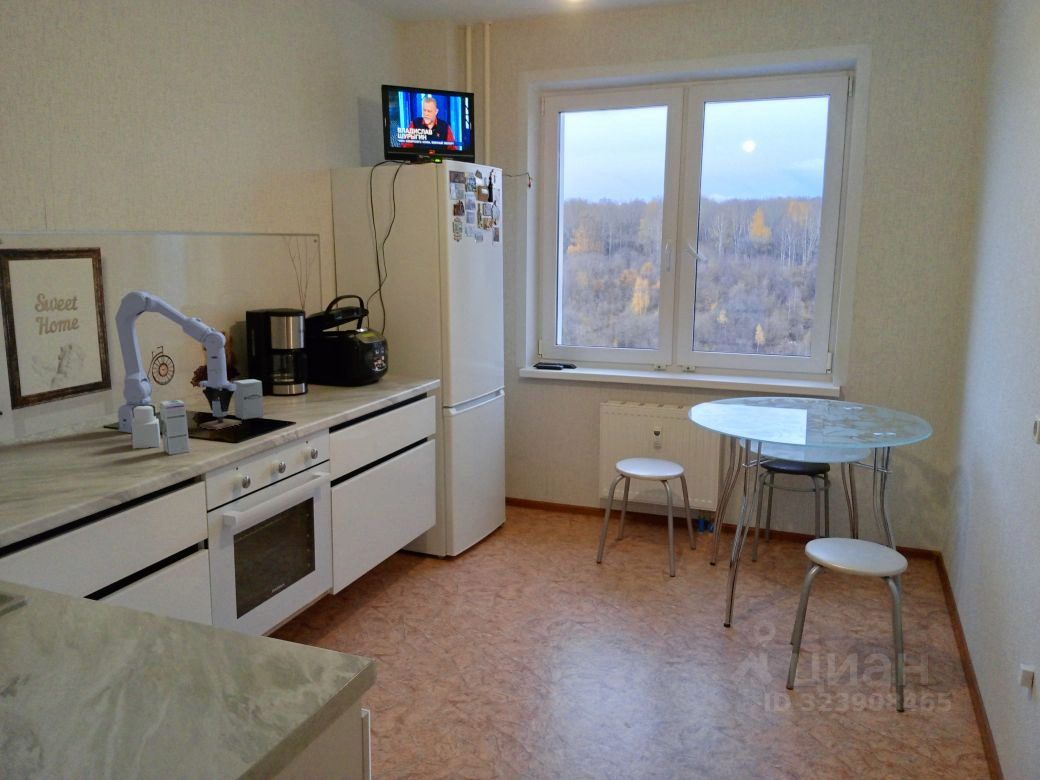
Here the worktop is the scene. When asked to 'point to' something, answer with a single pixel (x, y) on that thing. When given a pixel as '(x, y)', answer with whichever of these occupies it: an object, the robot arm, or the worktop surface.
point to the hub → (217, 409)
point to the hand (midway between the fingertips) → (219, 410)
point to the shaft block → (220, 423)
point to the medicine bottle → (145, 427)
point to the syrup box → (174, 427)
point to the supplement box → (248, 399)
